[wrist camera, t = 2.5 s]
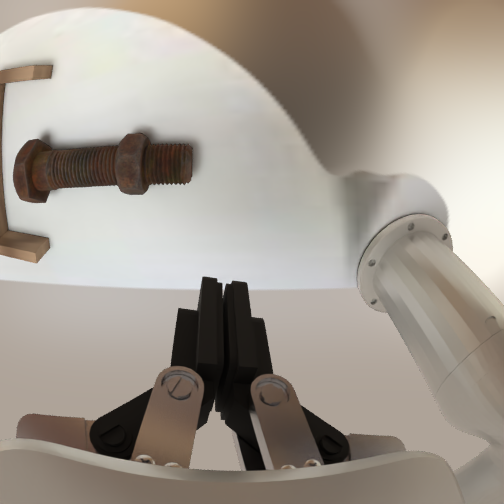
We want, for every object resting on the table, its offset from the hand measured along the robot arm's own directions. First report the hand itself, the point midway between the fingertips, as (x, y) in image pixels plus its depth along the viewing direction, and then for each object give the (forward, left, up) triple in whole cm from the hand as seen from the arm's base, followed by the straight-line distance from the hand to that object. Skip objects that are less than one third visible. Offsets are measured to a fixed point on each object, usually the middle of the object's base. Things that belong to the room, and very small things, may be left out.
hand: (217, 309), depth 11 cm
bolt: (+10, -1, -16) cm, 19 cm away
